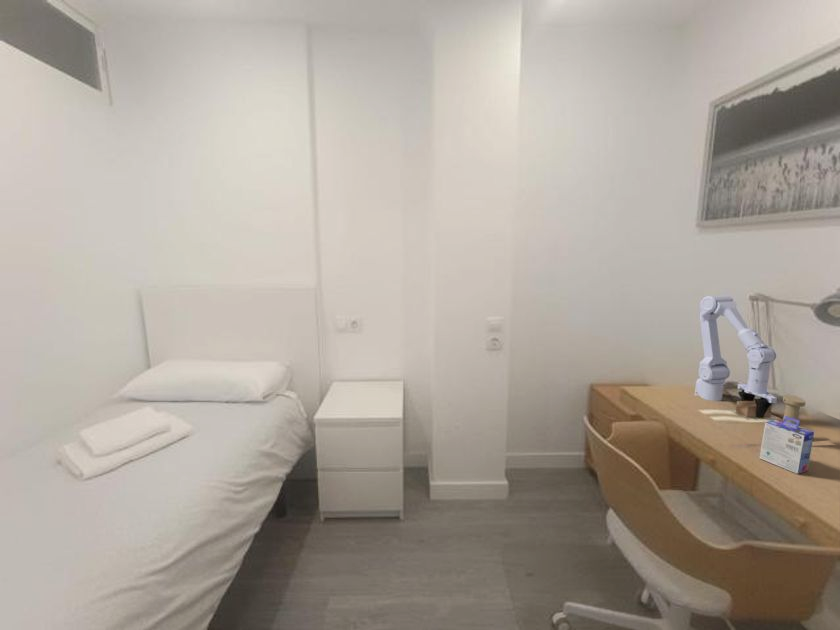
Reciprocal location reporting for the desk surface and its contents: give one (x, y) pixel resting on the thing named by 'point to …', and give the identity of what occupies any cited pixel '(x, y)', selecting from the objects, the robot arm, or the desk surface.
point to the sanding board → (734, 416)
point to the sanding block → (750, 409)
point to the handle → (792, 407)
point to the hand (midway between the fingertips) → (753, 413)
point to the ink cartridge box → (787, 445)
